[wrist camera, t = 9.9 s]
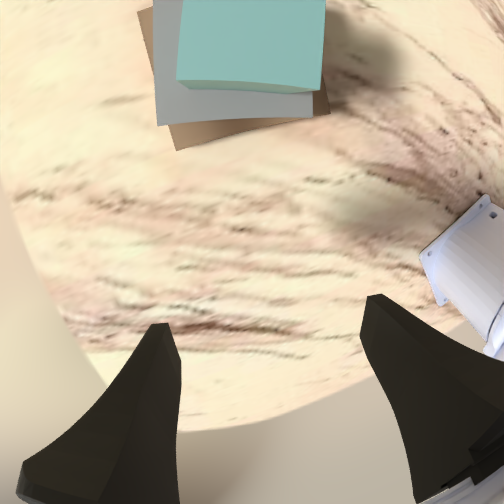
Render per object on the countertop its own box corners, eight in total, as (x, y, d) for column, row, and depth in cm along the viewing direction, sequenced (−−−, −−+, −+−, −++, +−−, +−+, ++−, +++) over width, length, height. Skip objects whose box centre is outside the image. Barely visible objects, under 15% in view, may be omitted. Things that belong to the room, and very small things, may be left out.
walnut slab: (285, -11, 13) (294, -22, 11) (318, 112, 17) (330, 113, 15) (145, 21, 13) (137, 11, 11) (181, 146, 17) (176, 151, 16)
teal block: (291, 12, 11) (326, -24, 6) (285, 94, 13) (320, 90, 8) (196, 5, 10) (189, -38, 6) (189, 89, 12) (176, 80, 8)
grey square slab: (296, -3, 12) (307, -15, 10) (300, 116, 15) (312, 117, 13) (161, 2, 11) (153, -11, 9) (165, 123, 15) (157, 126, 13)
